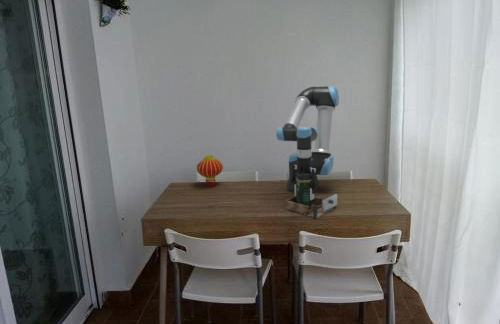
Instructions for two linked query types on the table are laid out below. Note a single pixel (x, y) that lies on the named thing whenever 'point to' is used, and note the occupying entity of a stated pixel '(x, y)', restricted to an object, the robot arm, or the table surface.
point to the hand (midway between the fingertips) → (304, 197)
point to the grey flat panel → (329, 202)
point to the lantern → (209, 168)
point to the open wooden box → (306, 207)
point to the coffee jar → (303, 188)
